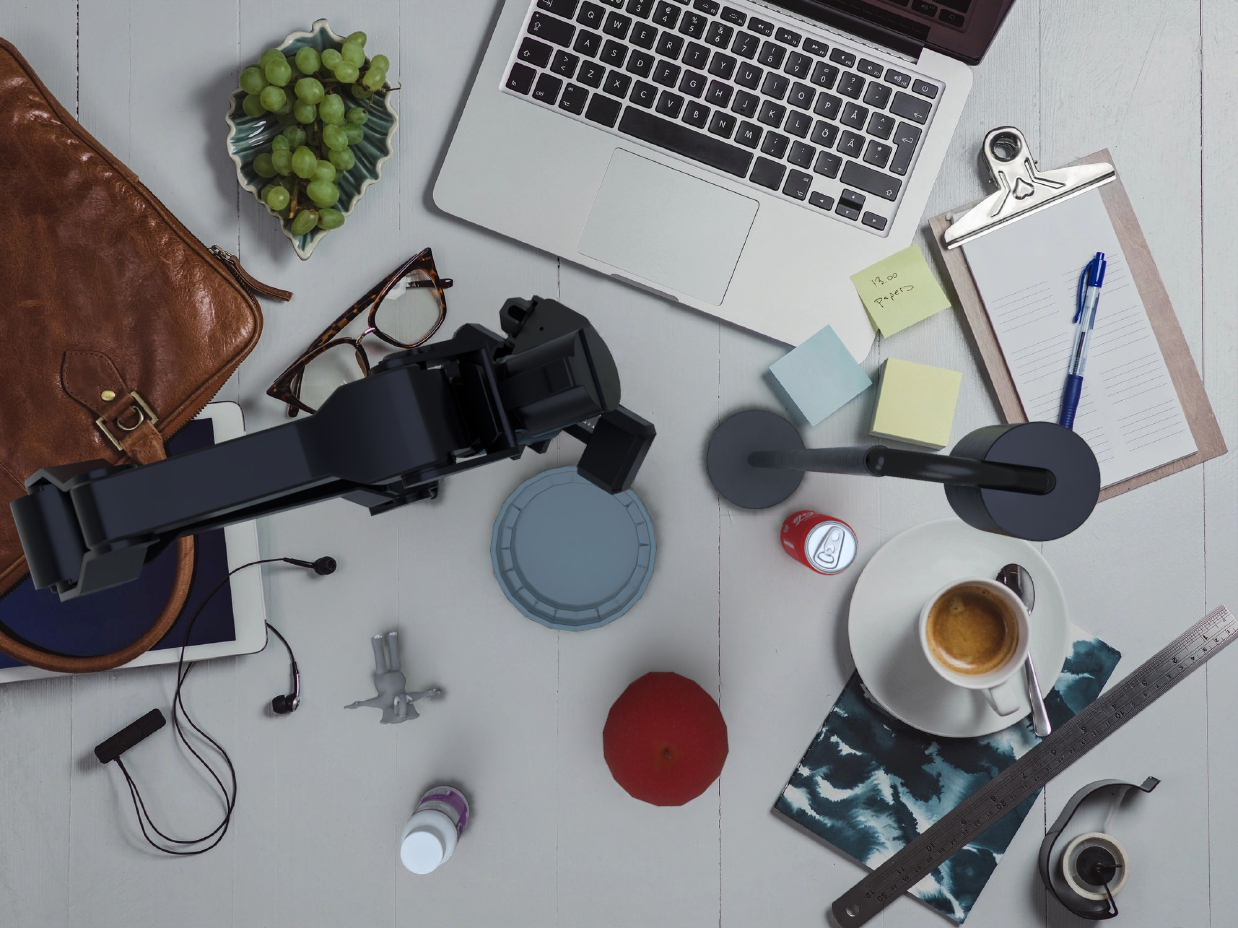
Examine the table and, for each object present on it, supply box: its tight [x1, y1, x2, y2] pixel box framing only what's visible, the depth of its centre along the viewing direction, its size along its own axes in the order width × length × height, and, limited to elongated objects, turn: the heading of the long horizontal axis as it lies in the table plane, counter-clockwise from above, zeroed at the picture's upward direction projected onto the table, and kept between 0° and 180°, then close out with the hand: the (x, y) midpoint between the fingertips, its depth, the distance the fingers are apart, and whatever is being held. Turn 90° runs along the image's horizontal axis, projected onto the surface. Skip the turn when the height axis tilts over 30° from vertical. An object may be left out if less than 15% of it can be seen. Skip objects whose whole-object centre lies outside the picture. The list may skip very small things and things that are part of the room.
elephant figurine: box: [343, 631, 441, 725], centre depth 84 cm, size 10×6×9 cm
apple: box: [602, 671, 730, 808], centre depth 79 cm, size 12×12×13 cm
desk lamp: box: [704, 409, 1102, 543], centre depth 63 cm, size 16×10×45 cm, turn 83°
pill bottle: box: [399, 785, 470, 875], centre depth 82 cm, size 5×5×10 cm
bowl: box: [489, 464, 658, 633], centre depth 84 cm, size 16×16×4 cm
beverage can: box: [779, 509, 859, 576], centre depth 80 cm, size 5×5×12 cm
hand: (586, 401), depth 75 cm, fingers open, 9 cm apart
